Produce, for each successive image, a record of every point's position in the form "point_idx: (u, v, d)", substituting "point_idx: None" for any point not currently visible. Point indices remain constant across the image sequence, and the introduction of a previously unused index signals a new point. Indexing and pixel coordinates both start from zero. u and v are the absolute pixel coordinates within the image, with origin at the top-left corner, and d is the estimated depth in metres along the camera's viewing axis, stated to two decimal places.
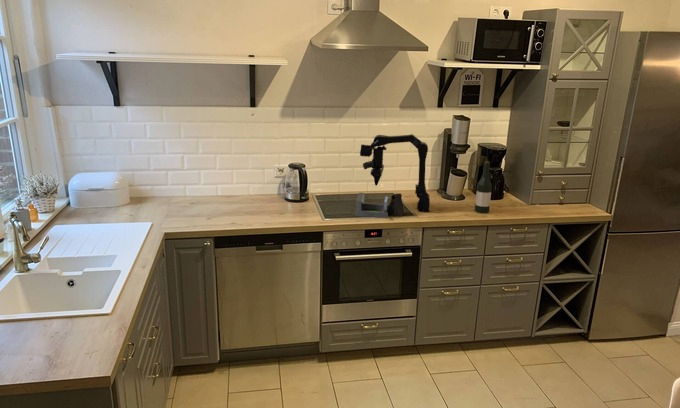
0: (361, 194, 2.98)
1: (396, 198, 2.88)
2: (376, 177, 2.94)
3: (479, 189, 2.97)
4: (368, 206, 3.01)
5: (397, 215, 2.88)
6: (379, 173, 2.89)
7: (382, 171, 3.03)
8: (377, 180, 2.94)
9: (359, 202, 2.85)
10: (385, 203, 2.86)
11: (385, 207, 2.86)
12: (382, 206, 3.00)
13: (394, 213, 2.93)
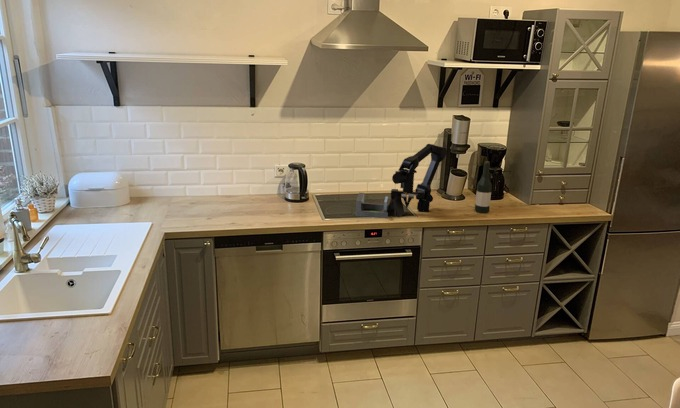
0: (361, 194, 2.98)
1: (396, 198, 2.88)
2: None
3: (479, 189, 2.97)
4: (368, 206, 3.01)
5: (397, 215, 2.88)
6: None
7: (408, 198, 2.87)
8: (405, 202, 2.89)
9: (359, 202, 2.85)
10: (385, 203, 2.86)
11: (385, 207, 2.86)
12: (382, 206, 3.00)
13: (394, 213, 2.93)
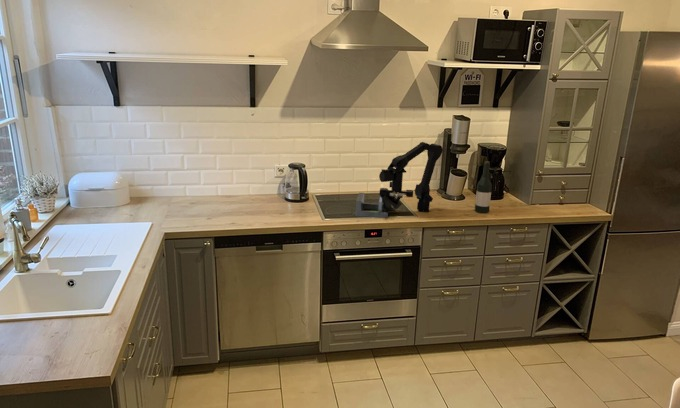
0: (361, 194, 2.98)
1: None
2: None
3: (479, 189, 2.97)
4: (368, 206, 3.01)
5: (396, 207, 2.88)
6: None
7: (397, 198, 2.87)
8: (393, 201, 2.90)
9: (359, 202, 2.85)
10: (380, 203, 2.86)
11: (380, 207, 2.87)
12: (382, 206, 3.00)
13: (392, 208, 2.93)
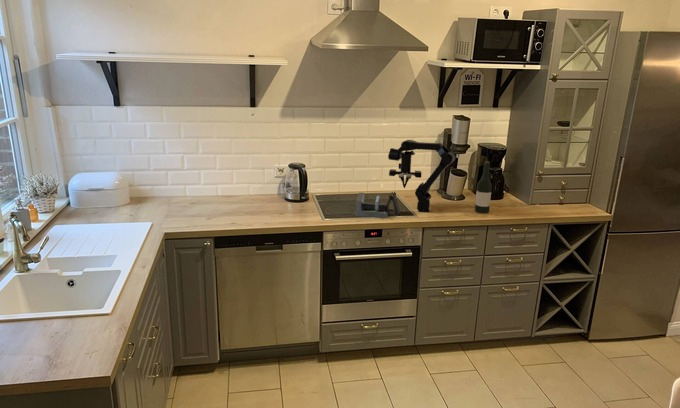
0: (361, 194, 2.98)
1: (394, 197, 2.90)
2: None
3: (479, 189, 2.97)
4: (368, 206, 3.01)
5: (396, 214, 2.91)
6: (389, 173, 3.00)
7: None
8: (402, 182, 3.02)
9: (359, 202, 2.85)
10: (376, 202, 2.86)
11: (376, 206, 2.87)
12: (382, 206, 3.00)
13: (390, 212, 2.95)
